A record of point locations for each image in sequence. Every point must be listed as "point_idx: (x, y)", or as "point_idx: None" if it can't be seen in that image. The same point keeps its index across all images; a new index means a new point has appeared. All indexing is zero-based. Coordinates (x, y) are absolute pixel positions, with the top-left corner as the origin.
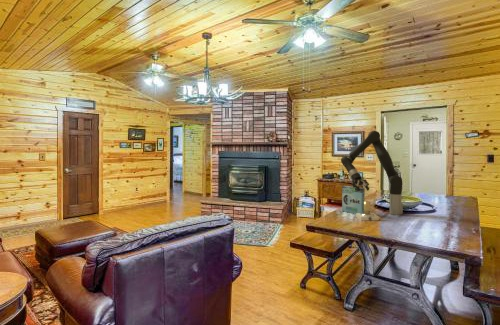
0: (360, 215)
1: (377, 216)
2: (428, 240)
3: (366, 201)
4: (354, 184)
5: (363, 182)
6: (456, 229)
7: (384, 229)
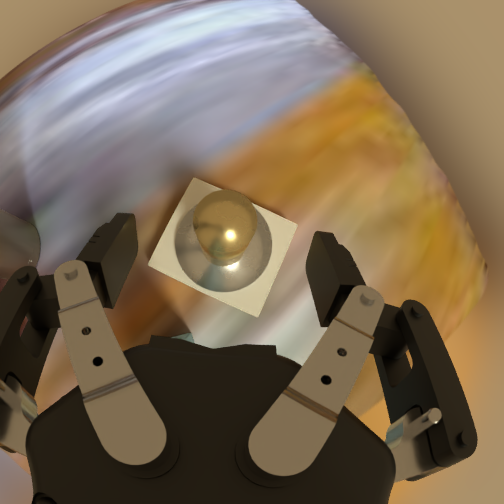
0: (275, 254)
1: (199, 182)
2: (261, 8)
3: (219, 233)
4: (432, 330)
5: (105, 334)
6: (101, 31)
7: (296, 88)
